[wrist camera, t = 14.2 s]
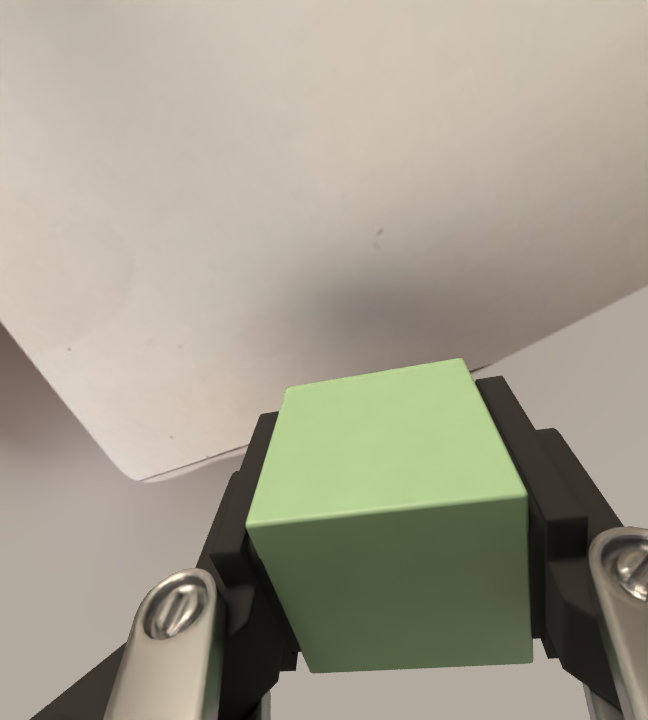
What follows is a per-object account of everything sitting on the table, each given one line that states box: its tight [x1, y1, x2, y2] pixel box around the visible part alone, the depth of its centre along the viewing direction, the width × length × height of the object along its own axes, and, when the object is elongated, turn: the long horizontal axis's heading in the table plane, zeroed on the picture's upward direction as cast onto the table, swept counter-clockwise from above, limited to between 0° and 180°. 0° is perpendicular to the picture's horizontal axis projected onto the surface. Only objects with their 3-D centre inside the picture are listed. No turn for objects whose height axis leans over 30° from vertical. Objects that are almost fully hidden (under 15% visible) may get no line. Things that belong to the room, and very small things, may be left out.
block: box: [246, 358, 533, 673], centre depth 8 cm, size 4×4×4 cm
